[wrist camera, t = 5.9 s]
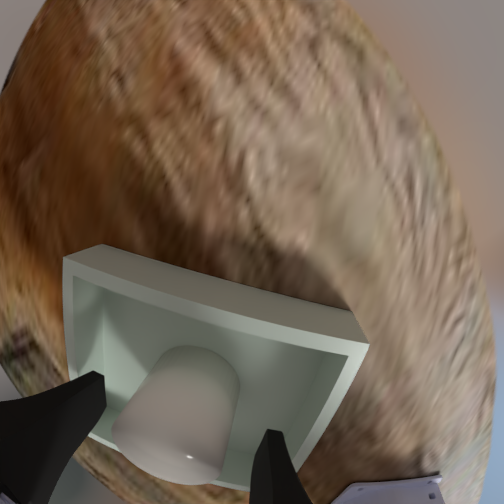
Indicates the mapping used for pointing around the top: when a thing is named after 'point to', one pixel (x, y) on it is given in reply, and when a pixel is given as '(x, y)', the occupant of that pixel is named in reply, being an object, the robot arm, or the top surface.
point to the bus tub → (210, 346)
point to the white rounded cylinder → (181, 417)
